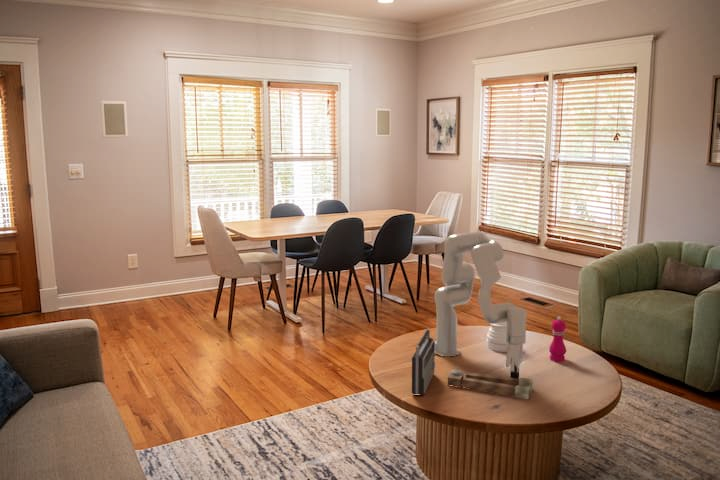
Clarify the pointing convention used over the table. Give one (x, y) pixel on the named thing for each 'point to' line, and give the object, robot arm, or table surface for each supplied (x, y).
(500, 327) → the honey pot
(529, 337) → the table surface
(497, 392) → the tongs base
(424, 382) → the radio
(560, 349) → the pepper mill
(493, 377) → the tongs arm
